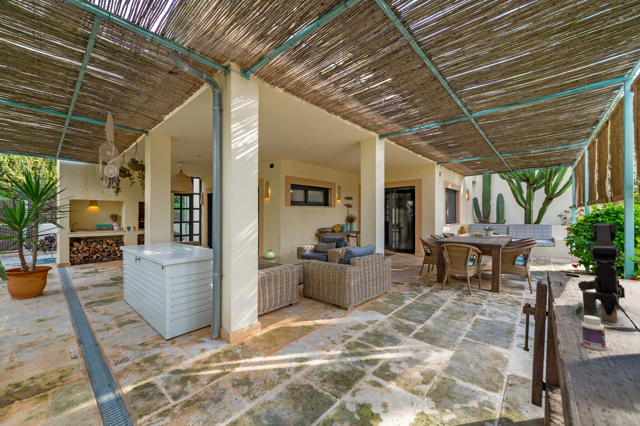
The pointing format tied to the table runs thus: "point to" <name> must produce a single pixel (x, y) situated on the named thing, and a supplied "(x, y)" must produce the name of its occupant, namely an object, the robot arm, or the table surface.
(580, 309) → the rail
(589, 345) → the pill bottle
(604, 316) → the block
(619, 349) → the table surface
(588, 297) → the mounted finger
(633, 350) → the table surface
